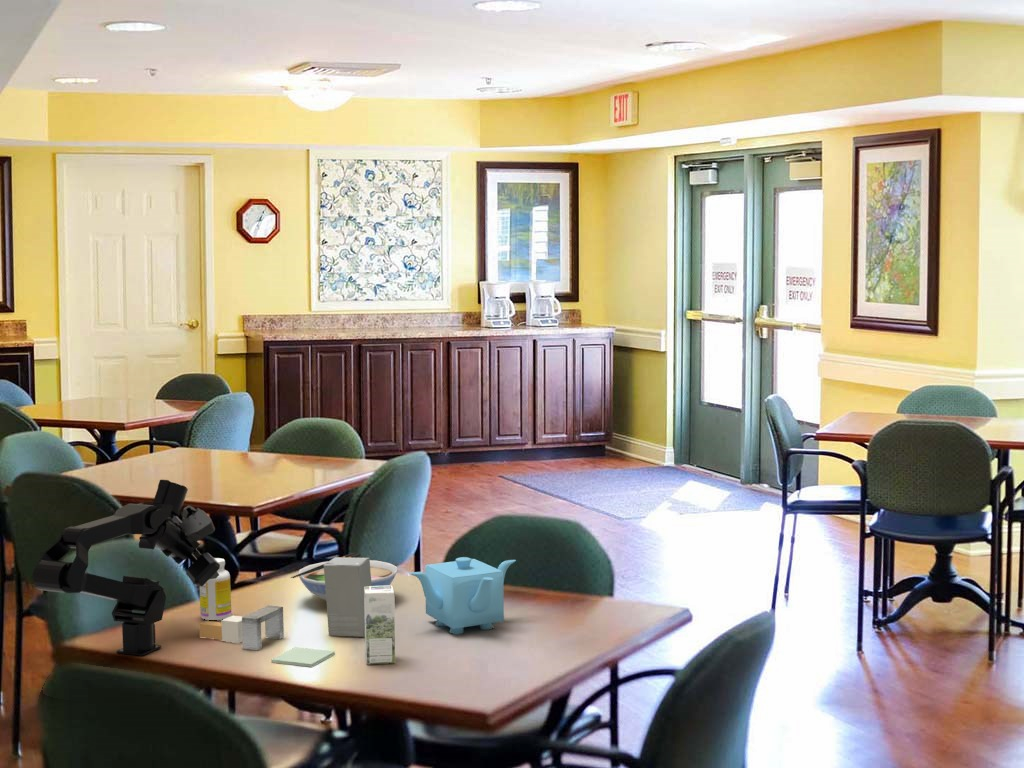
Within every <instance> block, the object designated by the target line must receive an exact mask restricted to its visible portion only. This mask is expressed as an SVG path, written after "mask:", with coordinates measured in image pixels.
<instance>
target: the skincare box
mask: <svg viewBox="0 0 1024 768" xmlns="http://www.w3.org/2000/svg"><path fill="white" fill-rule="evenodd" d="M370 560H371V559H370V557H357V558H344V557H343V556H340V557H339V556H335V557H333V558H332V559H330V560H329V562H328V561H326V562H327V563H326V564H324V576H325V589H326V600H325V601H326V614H327V629H328V636H329V635H330V636H333V637H334V636H335V637H357V638H358V637H359V638H361V637H362V638H365V613H364V587H365V586H372V585H371V571H370Z"/></svg>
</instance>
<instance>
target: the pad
mask: <svg viewBox="0 0 1024 768" xmlns="http://www.w3.org/2000/svg"><path fill="white" fill-rule="evenodd" d="M330 656H331V657H332V656H335V651H333V650H325V649H324V650H323V649H315V648H308V647H299V646H294V647H293V648H291V649H288V650H286V651H284V652H283V653H280V654H279V655H277V656H275V657H273V658H272V659H271V663H274V664H275V663H276V664H283V665H288V666H289V665H291V666H299V667H306V666H307V667H308V668H312V666H313V667H315V666H316V665H318V664H320V663H321V661H322V662H324V661H325V660H327V659H329V658H330ZM323 660H324V661H323ZM317 663H318V664H317Z"/></svg>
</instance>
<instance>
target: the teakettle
mask: <svg viewBox="0 0 1024 768" xmlns="http://www.w3.org/2000/svg"><path fill="white" fill-rule="evenodd" d="M516 561H517V560H516V559H508V560H507V559H506V560H504V561H502V562H501V563H500V564H499V565H498V566H497V568H496V567H494V566H492V565H489V564H487V563H485V562H483V561H480V560H477V559H476V558H470V557H467V556H462V557H457V558H455V560H454V561H447V562H438V563H429V564H425V566H424V572H423V571H415V572H414V571H411V572H409V575H411V576H414V577H416V578H417V579H418V580H419V582H420V584H421V587H422V592H423V595H424V597H425V614H426V615H427V616H429V617H431V618H433V619H435V621H436V623H434V624H435V626H437V627H446V626H447V627H448V628H450V629H449V632H450V633H449V634H451V633H453V634H452V635H461V634H464V628H469V627H475V626H479V628H480V629H481V628H482V629H481V630H492V628H493V627H494V626H493V624H496V623H501V622H503V623H504V622H505V616H504V615H505V614H504V612H505V611H504V608H505V607H504V606H505V605H504V582H505V576H506V572H507V570H508V568H509V567H510V566H511V565H512V564H514V563H515V562H516ZM493 629H494V628H493ZM460 633H461V634H460Z"/></svg>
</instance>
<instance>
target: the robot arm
mask: <svg viewBox="0 0 1024 768" xmlns="http://www.w3.org/2000/svg"><path fill="white" fill-rule="evenodd" d="M188 490H189V489H188V487H187V486H185V485H182V484H179V483H176V482H172V481H170V480H169V479H159V482H158V485H157V490H156V492H155V495H154V498H153V501H152V502H151V503H150V502H140V503H127V504H125V505H123V506H121V507H119V508H118V509H116V511H115V513H114V514H113V515H110V516H106V517H103V518H99V519H97V520H93V521H89V522H86V523H83V524H79V525H75V526H68V527H66V528H64V529H63V530H62V532H61V534H60V535H59V537H58V539H57V540H56V541H55V542H54V543H52V544H51V545H50V546H49V547H48V548H46V549H45V550H44V552H42V554H41V556H40V558H39V560H38V562H37V563H36V566H35V568H34V569H33V572H32V580H33V583H34V587H35V589H36V590H39V591H45V592H53V593H61V594H62V593H63V594H86V595H89V596H93V597H99V598H102V599H107V600H112V601H115V602H116V604H115V606H114V607H113V610H112V611H111V616H112V618H113V621H114V622H121V631H122V633H121V634H122V647H121V648H119V649H116V653H117V654H123V655H134V656H145V655H148V654H150V653H152V652H154V651H157V650H159V649H161V648H162V644H156V625H155V623H157V622H160V621H162V620H163V615H164V611H165V606H166V599H167V597H166V596H167V595H166V593H165V591H164V590H165V587H164V586H163V585H161V584H159V583H160V581H159V580H154V579H153V580H152V579H150V578H147V577H140V576H139V577H138V576H130V575H129V576H128V575H123V576H122V581H120V580H117V579H113V578H109V577H103V576H100V575H96V574H93V573H92V574H91V573H88V572H87V570H88V568H89V567H88V566H89V550H90V548H91V546H94V545H97V544H98V545H99V544H101V543H103V542H108V541H110V540H113V539H117V538H119V537H122V536H127V535H140V536H139V538H138V539H139V540H138V541H139V542H138V548H139V549H144V550H155V547H156V548H158V549H159V550H160V551H161V552H162V553H163V554H164V555H165V556H166V557H168V558H169V557H171V558H172V559H173V560H174V561H175V563H177V564H180V563H181V562H183V560H184V561H185V560H186V559H189V561H190V562H192V563H191V565H189V567H188V568H187V569H186V575H187V577H188V578H189V579H190V580H191V582H193V583H192V584H194V585H195V586H197V587H198V588H200V586H203V585H204V584H205V583H206V582H207V581H208V580H209V579H215V578H217V577H218V576H219V573H218V572H217V571H218V570H219V569H220V564H219V563H218V562H217V561H216V560H215V559H214V558H215V557H214V556H213V555H211V554H210V553H209V552H204V553H200V551H199V550H198V547H199V546H200V545H201V543H200V542H199V541H202V540H203V539H205V538H206V537H208V536H209V535H211V534H213V533H214V532H215V530H216V527H215V525H214V523H213V521H212V518H211V517H210V516H209V515H208V514H207V513H206V512H205V511H204V510H203V509H200V508H199V507H197V508H195V507H193V506H192V505H189V504H188V505H187V506H185V507H184V508H183V506H184V502H185V500H186V496H187V494H188ZM182 508H183V509H182ZM181 512H182V519H180V518H179V517H180V516H181V515H180V514H181ZM71 549H75V558H74V559H73V561H72V562H71V561H64V560H63V561H62V560H61V558H63V557H64V556H65V555H67V554H68V553H69V551H70V550H71ZM133 611H135V612H133ZM140 612H144V613H140Z"/></svg>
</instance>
